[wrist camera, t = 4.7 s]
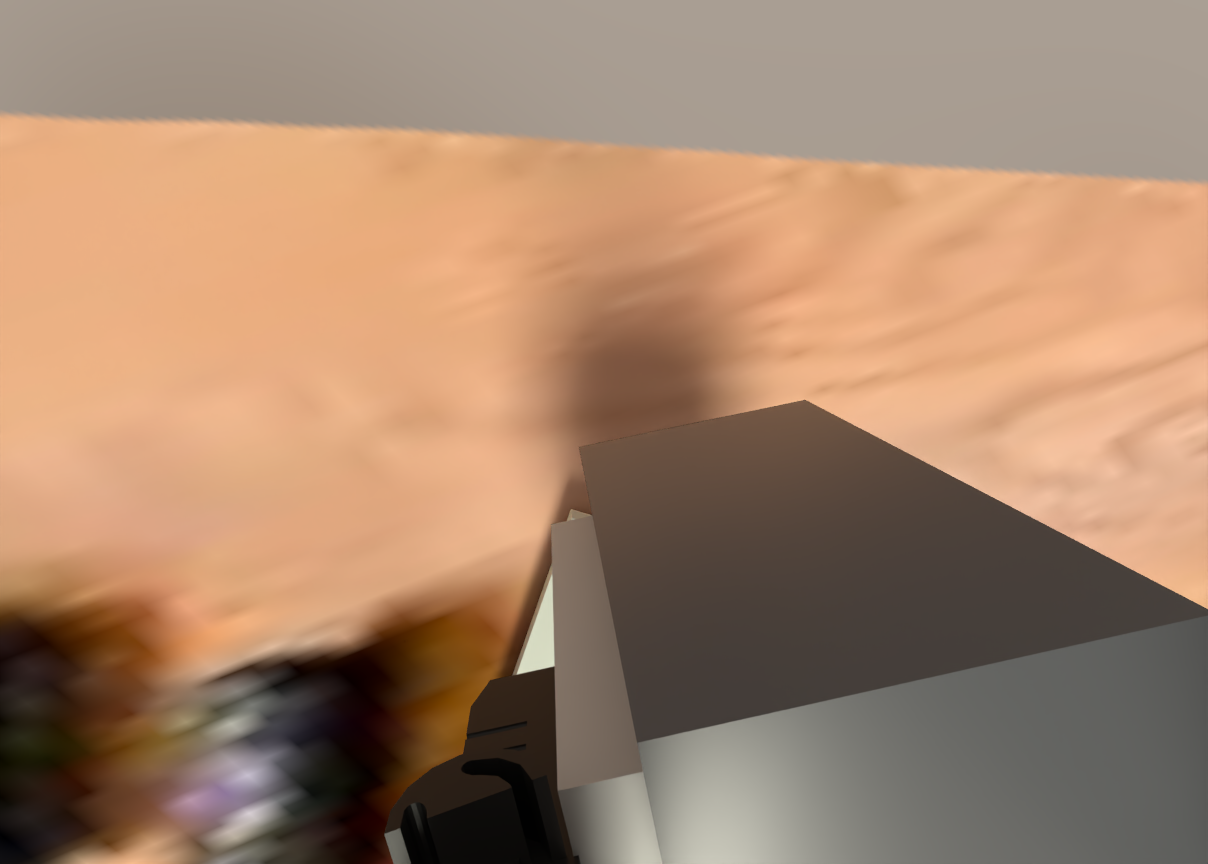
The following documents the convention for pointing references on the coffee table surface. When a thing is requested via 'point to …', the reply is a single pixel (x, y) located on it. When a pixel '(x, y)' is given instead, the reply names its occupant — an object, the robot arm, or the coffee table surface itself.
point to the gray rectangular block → (887, 660)
